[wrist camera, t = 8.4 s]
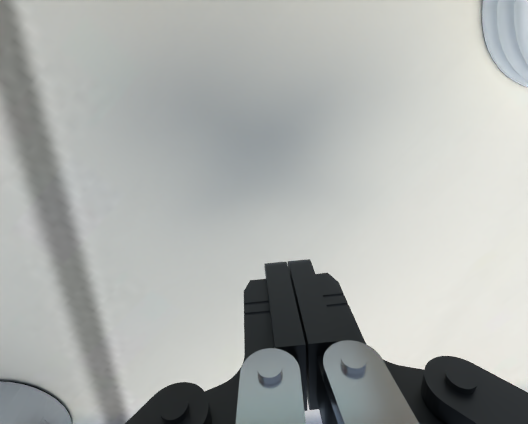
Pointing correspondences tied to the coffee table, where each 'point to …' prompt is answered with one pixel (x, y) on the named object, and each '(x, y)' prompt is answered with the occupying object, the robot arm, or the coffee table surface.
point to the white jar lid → (507, 36)
